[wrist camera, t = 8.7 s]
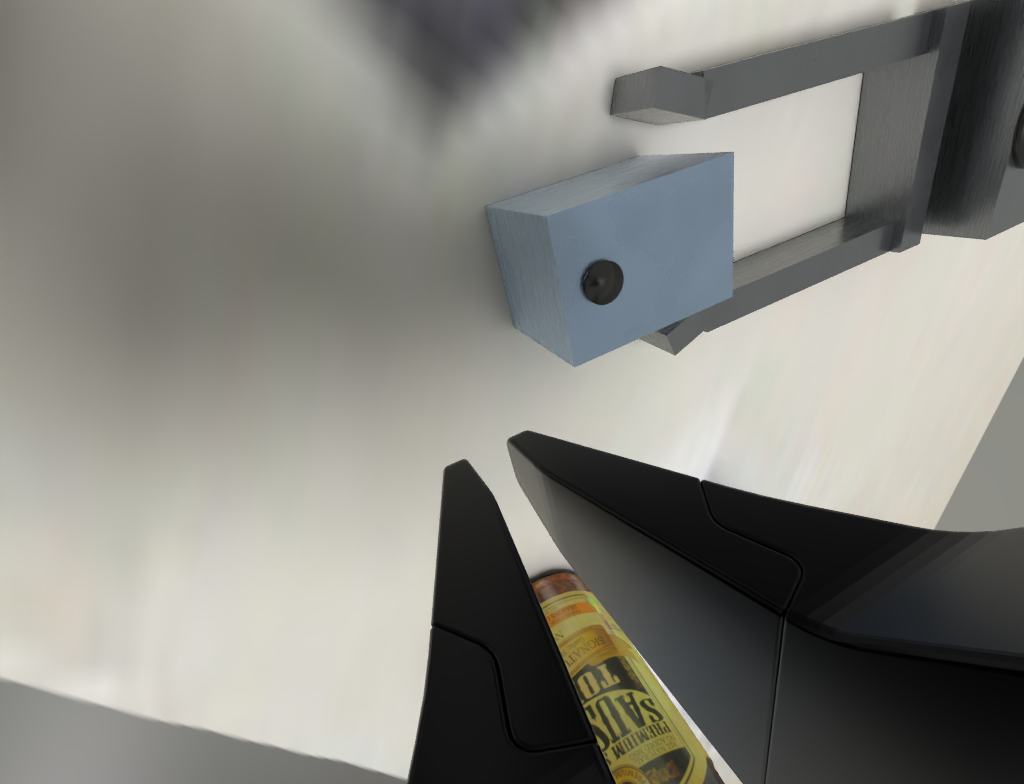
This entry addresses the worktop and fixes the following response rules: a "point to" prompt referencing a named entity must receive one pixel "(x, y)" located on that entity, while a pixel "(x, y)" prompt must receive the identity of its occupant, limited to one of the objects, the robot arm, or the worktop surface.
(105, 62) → the worktop surface
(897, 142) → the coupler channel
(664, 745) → the sauce bottle
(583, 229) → the block
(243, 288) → the worktop surface
